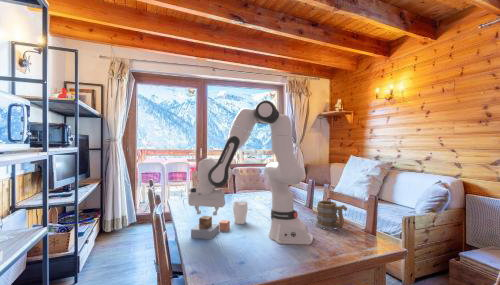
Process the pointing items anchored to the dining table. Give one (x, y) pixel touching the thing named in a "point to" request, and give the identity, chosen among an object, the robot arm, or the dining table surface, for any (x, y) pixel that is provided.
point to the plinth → (205, 232)
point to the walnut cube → (205, 222)
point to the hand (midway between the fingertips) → (206, 214)
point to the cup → (240, 212)
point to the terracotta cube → (224, 225)
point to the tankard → (329, 215)
